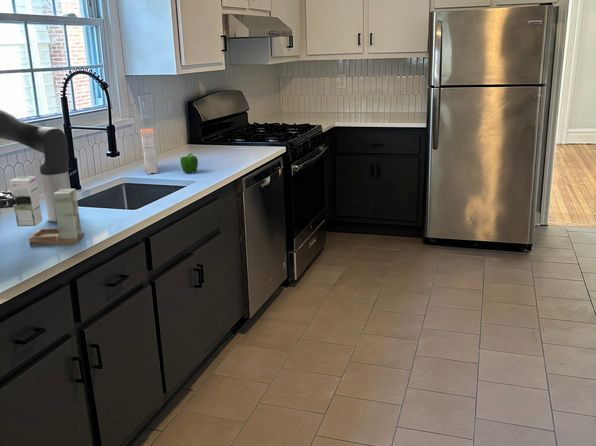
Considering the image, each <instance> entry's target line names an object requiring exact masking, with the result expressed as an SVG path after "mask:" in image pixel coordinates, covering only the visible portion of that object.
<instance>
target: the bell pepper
mask: <svg viewBox="0 0 596 446" xmlns="http://www.w3.org/2000/svg"><path fill="white" fill-rule="evenodd" d="M179 161H180V166H181V170H182V171H183V173H184V172H185V173H184V174H193V173H192V172H195V173H196V172H197V170H198V166H199V165H198V164H199V159H198V158H197V157H196V156H195V155H193V152H189V153H188V154H187V156H181V157H180V160H179Z"/></svg>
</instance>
